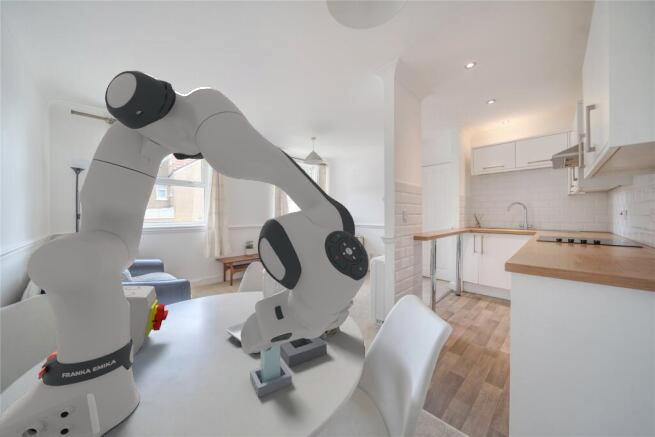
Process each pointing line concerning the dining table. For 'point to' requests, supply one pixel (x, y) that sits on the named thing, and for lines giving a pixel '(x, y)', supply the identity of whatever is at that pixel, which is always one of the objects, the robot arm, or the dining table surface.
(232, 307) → the dining table surface
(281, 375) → the grey storage bin
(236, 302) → the dining table surface
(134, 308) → the electrical switch box
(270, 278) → the water bottle
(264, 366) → the plug
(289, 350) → the block
